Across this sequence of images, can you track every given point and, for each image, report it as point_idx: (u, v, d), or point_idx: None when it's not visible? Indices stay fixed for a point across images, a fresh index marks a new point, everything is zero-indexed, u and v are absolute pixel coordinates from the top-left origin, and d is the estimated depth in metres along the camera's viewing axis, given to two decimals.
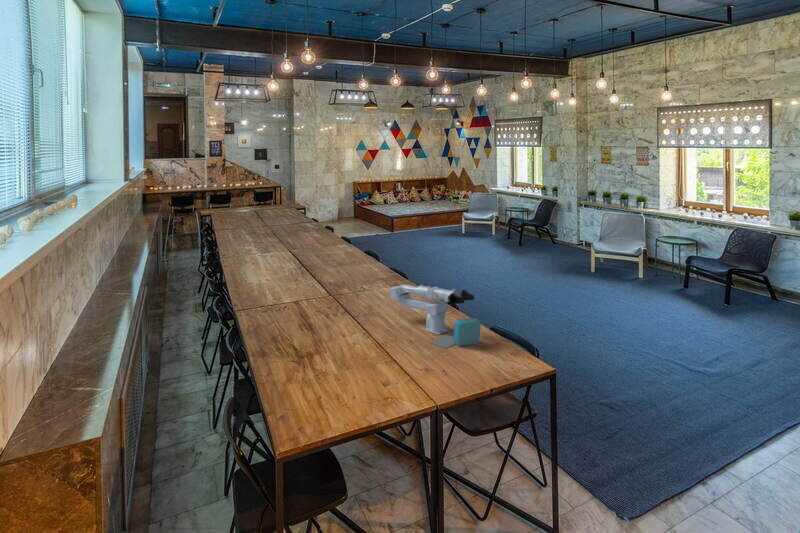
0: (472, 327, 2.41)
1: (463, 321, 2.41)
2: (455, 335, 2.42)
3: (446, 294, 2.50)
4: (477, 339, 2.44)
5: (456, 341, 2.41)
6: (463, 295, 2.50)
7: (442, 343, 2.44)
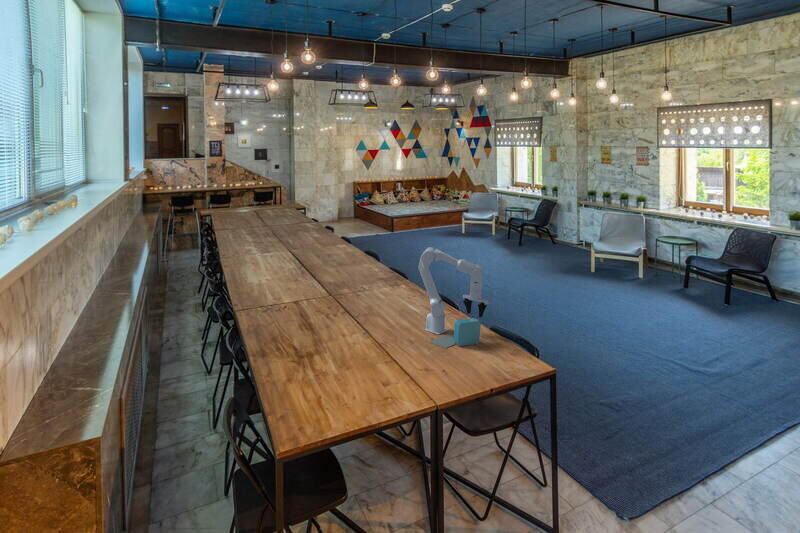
0: (472, 327, 2.41)
1: (463, 321, 2.41)
2: (455, 335, 2.42)
3: None
4: (477, 339, 2.44)
5: (456, 341, 2.41)
6: (469, 302, 2.56)
7: (442, 343, 2.44)
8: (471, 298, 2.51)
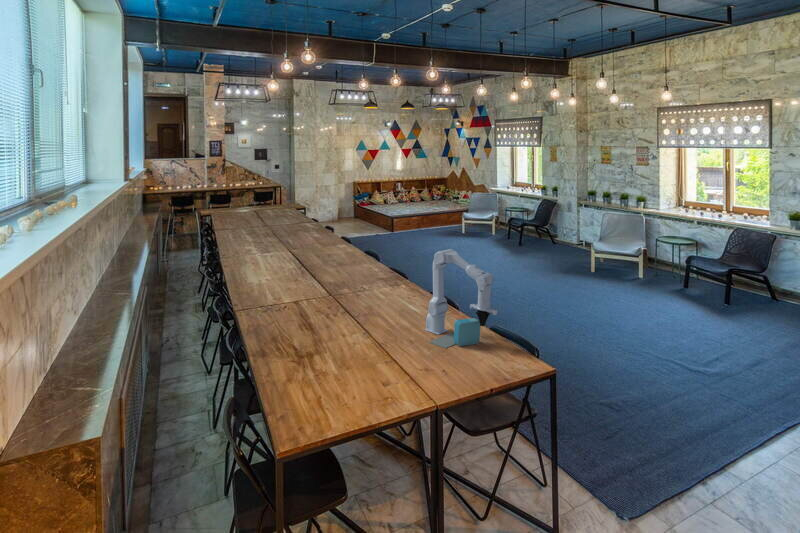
0: (472, 327, 2.41)
1: (463, 321, 2.41)
2: (455, 335, 2.42)
3: (489, 302, 2.36)
4: (477, 339, 2.44)
5: (456, 341, 2.41)
6: None
7: (442, 343, 2.44)
8: (479, 308, 2.36)
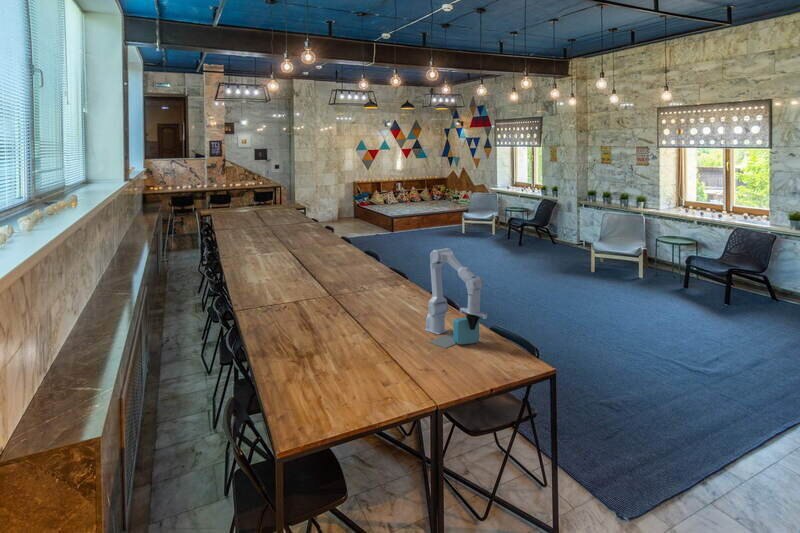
0: None
1: (462, 319, 2.43)
2: (454, 334, 2.43)
3: (479, 306, 2.37)
4: (477, 338, 2.44)
5: (456, 340, 2.42)
6: None
7: (442, 343, 2.44)
8: (469, 312, 2.37)
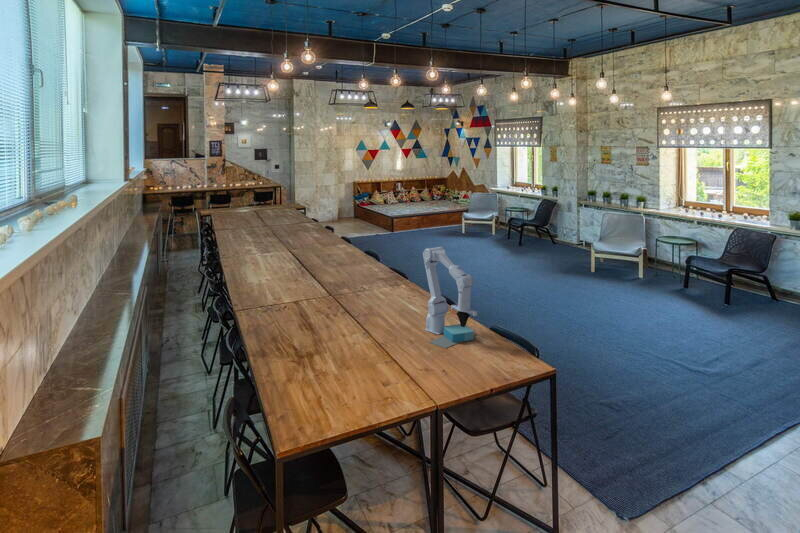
0: (458, 326, 2.54)
1: None
2: (449, 336, 2.49)
3: (469, 303, 2.41)
4: (470, 330, 2.50)
5: (451, 335, 2.46)
6: None
7: (442, 343, 2.44)
8: (459, 309, 2.41)
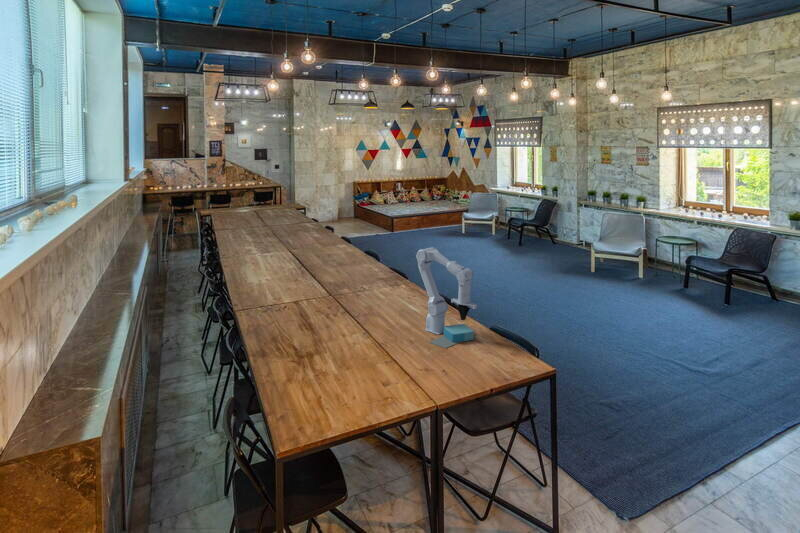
0: (458, 326, 2.54)
1: None
2: (449, 336, 2.49)
3: (469, 297, 2.45)
4: (470, 330, 2.50)
5: (451, 335, 2.46)
6: None
7: (442, 343, 2.44)
8: (459, 302, 2.44)
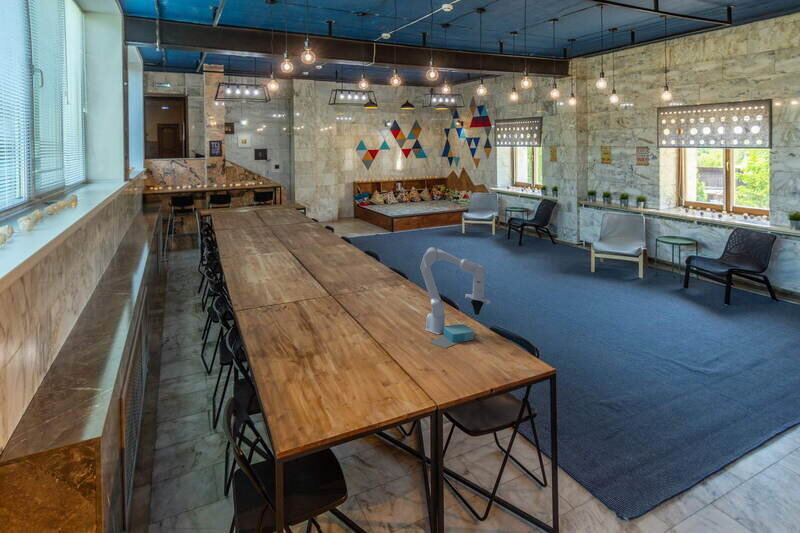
0: (458, 326, 2.54)
1: None
2: (449, 336, 2.49)
3: (483, 292, 2.53)
4: (470, 330, 2.50)
5: (451, 335, 2.46)
6: None
7: (442, 343, 2.44)
8: (473, 297, 2.52)
